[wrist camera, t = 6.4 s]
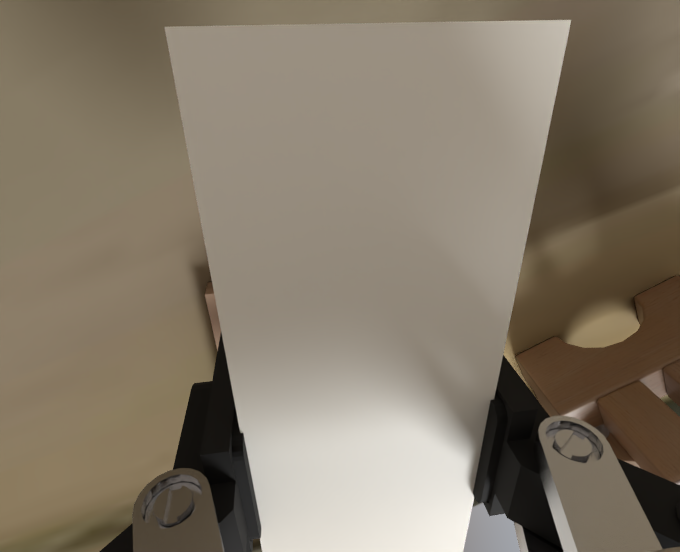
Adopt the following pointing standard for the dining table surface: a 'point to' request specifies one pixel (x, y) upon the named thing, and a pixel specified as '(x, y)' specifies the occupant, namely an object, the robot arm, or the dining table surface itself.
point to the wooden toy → (621, 383)
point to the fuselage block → (365, 256)
